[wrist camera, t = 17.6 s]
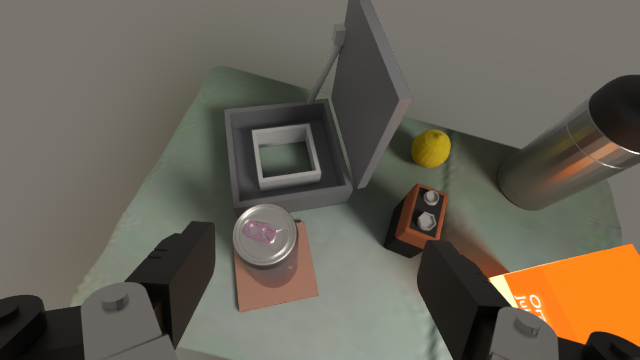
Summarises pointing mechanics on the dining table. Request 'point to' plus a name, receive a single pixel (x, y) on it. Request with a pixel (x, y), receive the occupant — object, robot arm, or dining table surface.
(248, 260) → the beverage can
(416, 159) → the fruit
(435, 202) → the battery
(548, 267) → the orange juice
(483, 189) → the dining table surface
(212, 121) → the dining table surface
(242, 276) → the mat
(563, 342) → the robot arm
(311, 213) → the dining table surface
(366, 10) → the equipment case
